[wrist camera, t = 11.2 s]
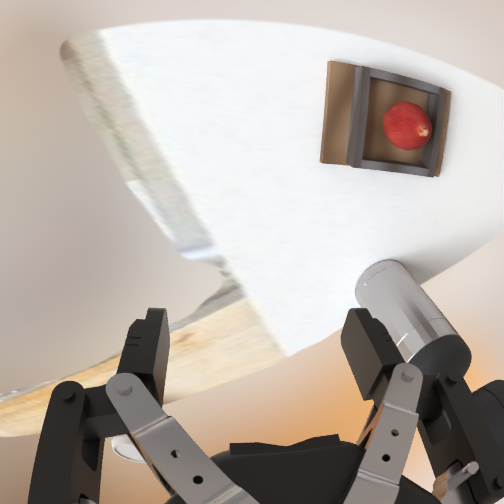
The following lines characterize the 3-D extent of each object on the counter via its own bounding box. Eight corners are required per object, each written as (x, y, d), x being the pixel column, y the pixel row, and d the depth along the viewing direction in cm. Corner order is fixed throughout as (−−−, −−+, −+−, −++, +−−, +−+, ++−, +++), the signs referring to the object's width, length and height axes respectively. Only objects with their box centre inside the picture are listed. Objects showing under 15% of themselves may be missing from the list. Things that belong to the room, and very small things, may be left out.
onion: (399, 92, 32) (436, 96, 25) (417, 131, 35) (454, 143, 28) (364, 112, 33) (396, 119, 26) (384, 151, 36) (417, 167, 29)
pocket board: (446, 90, 33) (461, 92, 30) (434, 174, 39) (448, 182, 36) (327, 61, 31) (337, 58, 28) (319, 161, 37) (328, 168, 34)
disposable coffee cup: (111, 394, 55) (100, 442, 44) (152, 390, 55) (144, 442, 44) (133, 418, 59) (126, 463, 49) (171, 415, 59) (168, 463, 49)
